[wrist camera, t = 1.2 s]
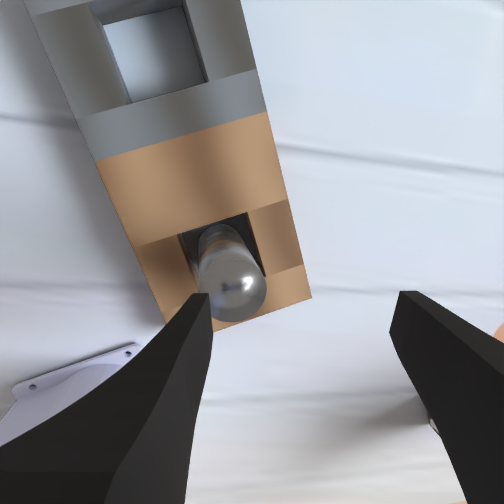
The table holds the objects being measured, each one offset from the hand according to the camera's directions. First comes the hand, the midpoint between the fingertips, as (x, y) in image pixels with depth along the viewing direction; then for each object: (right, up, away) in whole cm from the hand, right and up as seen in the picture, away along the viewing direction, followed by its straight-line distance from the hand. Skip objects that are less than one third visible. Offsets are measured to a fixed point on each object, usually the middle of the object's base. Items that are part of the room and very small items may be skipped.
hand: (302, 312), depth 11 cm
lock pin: (-4, +3, +10) cm, 11 cm away
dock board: (-6, +8, +8) cm, 13 cm away
